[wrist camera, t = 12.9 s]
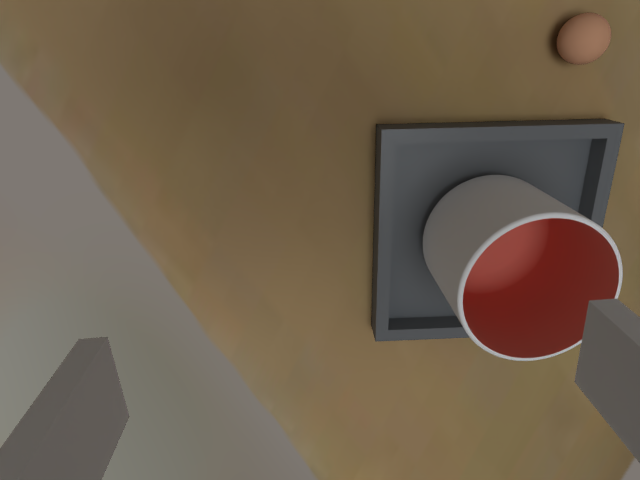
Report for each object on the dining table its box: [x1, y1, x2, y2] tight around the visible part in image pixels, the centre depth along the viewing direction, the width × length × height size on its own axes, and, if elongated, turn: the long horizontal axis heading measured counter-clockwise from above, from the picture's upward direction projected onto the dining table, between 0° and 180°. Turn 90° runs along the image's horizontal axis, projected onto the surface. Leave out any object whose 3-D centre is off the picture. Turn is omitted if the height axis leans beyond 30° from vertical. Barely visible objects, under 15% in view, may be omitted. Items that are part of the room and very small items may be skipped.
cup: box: [423, 175, 623, 361], centre depth 34 cm, size 10×10×10 cm
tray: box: [371, 119, 624, 341], centre depth 38 cm, size 17×17×2 cm
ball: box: [557, 13, 611, 65], centre depth 32 cm, size 3×3×3 cm
